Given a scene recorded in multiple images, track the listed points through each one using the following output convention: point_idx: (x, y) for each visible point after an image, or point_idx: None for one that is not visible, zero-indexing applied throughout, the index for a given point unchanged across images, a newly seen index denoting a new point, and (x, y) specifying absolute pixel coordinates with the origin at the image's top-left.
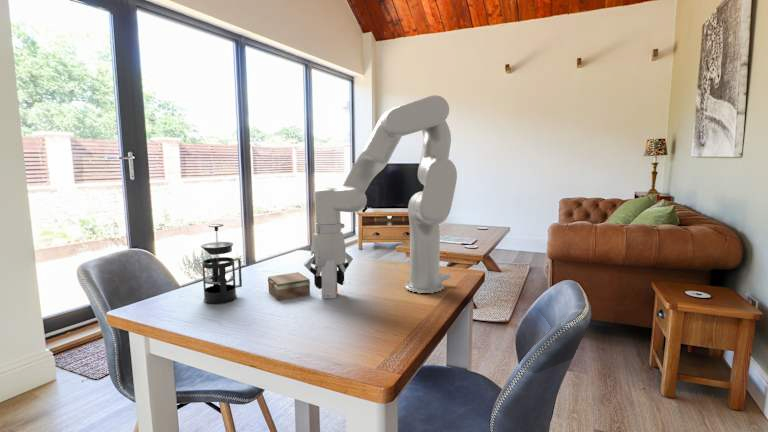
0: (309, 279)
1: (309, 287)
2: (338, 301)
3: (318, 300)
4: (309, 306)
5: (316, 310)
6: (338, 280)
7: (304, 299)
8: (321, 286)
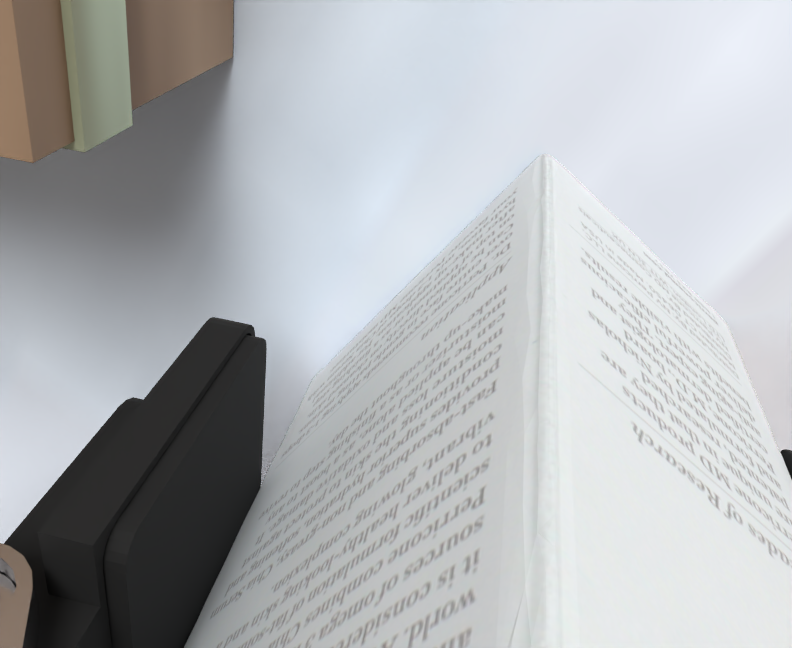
0: (39, 156)
1: (152, 97)
2: None
3: None
4: (54, 480)
5: None
6: None
7: (66, 213)
8: (238, 527)
